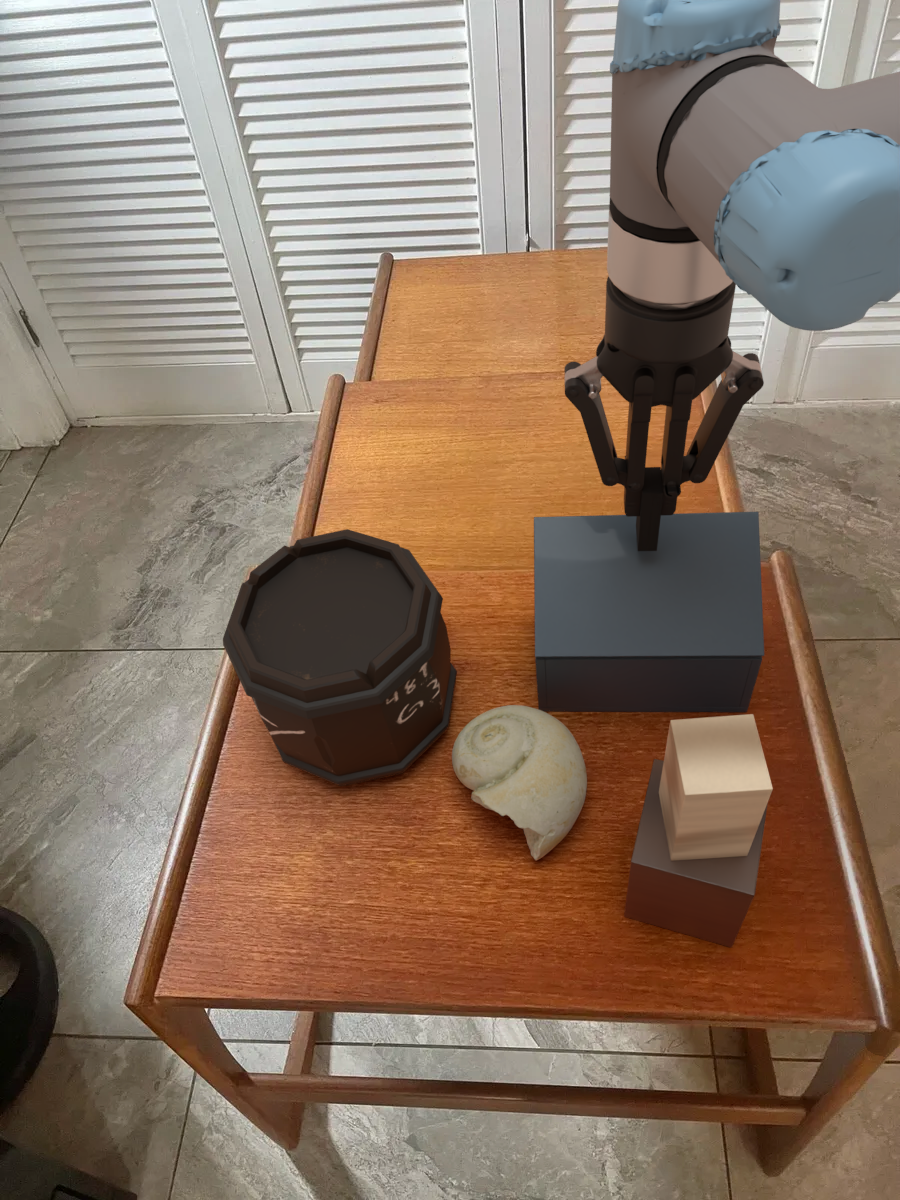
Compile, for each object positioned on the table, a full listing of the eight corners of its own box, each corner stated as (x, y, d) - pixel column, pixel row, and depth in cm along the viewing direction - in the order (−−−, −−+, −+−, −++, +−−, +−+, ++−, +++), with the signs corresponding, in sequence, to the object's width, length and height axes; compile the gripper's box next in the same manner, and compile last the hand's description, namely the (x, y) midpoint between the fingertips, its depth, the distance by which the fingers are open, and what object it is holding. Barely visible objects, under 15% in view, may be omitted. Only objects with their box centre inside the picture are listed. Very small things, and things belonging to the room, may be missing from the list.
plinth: (731, 948, 67) (754, 895, 58) (623, 916, 69) (630, 862, 60) (746, 848, 71) (770, 785, 62) (645, 821, 73) (654, 758, 65)
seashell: (426, 719, 73) (535, 661, 74) (445, 753, 80) (545, 699, 80) (499, 861, 66) (618, 795, 67) (513, 884, 73) (621, 824, 74)
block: (747, 856, 60) (773, 789, 52) (670, 861, 60) (684, 795, 52) (731, 787, 63) (753, 713, 55) (658, 791, 63) (670, 719, 55)
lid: (534, 519, 76) (533, 516, 75) (756, 513, 73) (758, 511, 73) (535, 657, 74) (534, 656, 73) (762, 656, 72) (764, 655, 71)
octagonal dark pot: (289, 622, 90) (244, 515, 78) (468, 630, 87) (450, 520, 75) (240, 788, 79) (178, 694, 67) (441, 804, 76) (415, 709, 64)
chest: (539, 614, 87) (536, 559, 81) (732, 612, 85) (745, 555, 78) (538, 711, 81) (535, 660, 74) (747, 712, 78) (762, 659, 72)
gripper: (776, 232, 55) (725, 501, 73) (559, 245, 56) (563, 505, 75) (796, 306, 50) (736, 573, 69) (559, 318, 52) (563, 576, 70)
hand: (646, 537), depth 72 cm, fingers closed
